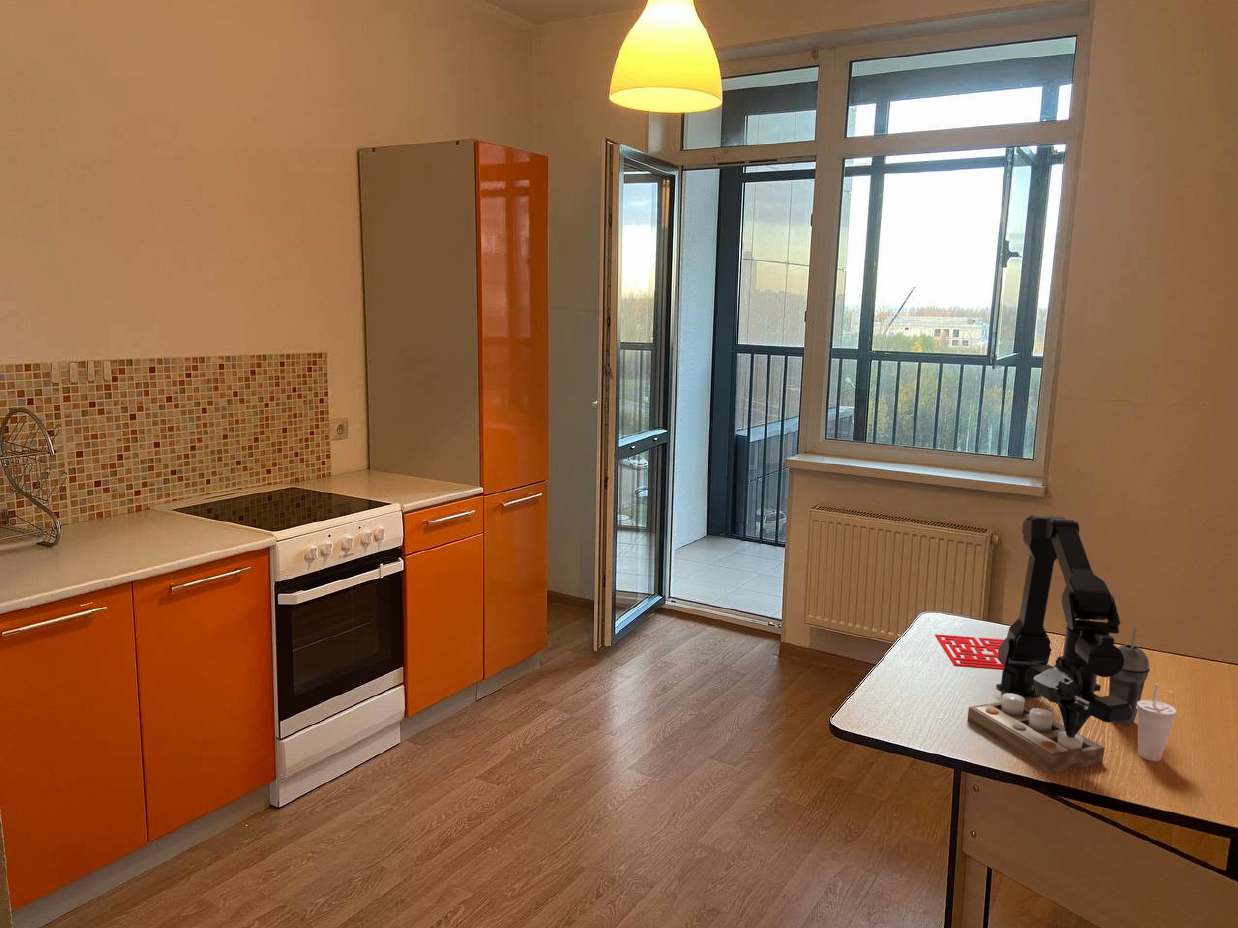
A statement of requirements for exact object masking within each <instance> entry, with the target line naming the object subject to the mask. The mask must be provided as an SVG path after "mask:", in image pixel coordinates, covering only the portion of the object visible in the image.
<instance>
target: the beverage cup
mask: <svg viewBox="0 0 1238 928" xmlns="http://www.w3.org/2000/svg"><path fill="white" fill-rule="evenodd" d="M1137 629H1138V626H1136V625H1134V627H1133V633H1132V639H1131V644H1124V645H1120V646H1118V647H1117V648H1118V649H1119V650H1120V651H1121V652H1122V654H1123V657H1124V665H1123V667H1122V669H1121V671H1119V672H1118V673H1117V674H1116V675H1114V676H1111V677H1109V684H1108V685H1109V686H1108V696H1110V695H1113V696H1115V697H1117V698H1119V699H1121V700H1123V701H1125V702H1128V703H1129V704H1130V706H1131V707H1132V714H1131V719H1128V720H1122V721H1116V722H1114V723H1115V724H1118V725H1123V726H1132V725H1134V724H1135V720H1136V717H1137V716H1138V710H1137V708H1136V706H1137V702H1138V701H1140V700H1142V699H1141V697H1142V694H1143V690H1144V687H1145V683H1146V680H1147V678H1148V676H1149V672H1151V671H1150V664H1149V663H1150V661H1149V657H1148V656H1147V654H1146V652H1144V650H1143V649H1141V648H1139V647H1138V646H1135V643H1136V636H1137Z"/></svg>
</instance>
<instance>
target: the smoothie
mask: <svg viewBox="0 0 1238 928" xmlns="http://www.w3.org/2000/svg"><path fill="white" fill-rule="evenodd" d="M1159 686H1160V684H1159V683H1155V684H1154V692H1153V698H1152V699H1140V701H1138V702H1137V706H1136V708H1137V710H1138V711H1137V754H1138V756H1139V757H1141V758H1142V759H1145V760H1148V761H1153V762H1160V761H1161V760H1162V758H1163V754H1164V751H1165V748H1166V744H1167V741H1168V738H1169V735H1170V732H1171V728H1172V725H1173V721H1174V719H1176V718H1177V711H1178V710H1177V709H1176V708H1175V707H1174V706H1173V705H1172V706H1171V704H1168V703H1165V702H1163V701H1159V700H1158V695H1159Z"/></svg>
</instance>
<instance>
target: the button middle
mask: <svg viewBox="0 0 1238 928" xmlns="http://www.w3.org/2000/svg"><path fill="white" fill-rule="evenodd" d="M1032 708H1033V709H1030V714H1029V722H1028V726H1029V727H1031V728H1032V729H1034V730H1036V731H1038V732H1048V731H1051V729H1052V721H1053V720H1054V714H1053V713H1052V712H1051V711H1049V710H1047V709H1044V708H1039V707H1035V708H1034V707H1032Z"/></svg>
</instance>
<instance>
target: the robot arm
mask: <svg viewBox="0 0 1238 928" xmlns="http://www.w3.org/2000/svg"><path fill="white" fill-rule="evenodd" d="M1021 529H1022V536H1023V537H1022V538H1023V540H1022V541H1023V543H1024V546H1025V547H1026V549H1027V551H1028V554H1029V557H1028V562H1027V569H1026V573H1025V580H1024V587H1023V593H1022V598H1021V599H1022V600H1021V605H1020V611H1019V617H1018V618H1017V619H1016V621H1014V622H1013V624H1012V625H1011V626H1009V628H1008V631H1007V635H1006V638H1004V639H1003V640H1004V641H1003V643H1002V644H1001V645H1000V647H999V648H998V649H997V652H998V659H999V660H1000V661H999V660H998V659H997V660H998V661H999V662H1000V664H1001V663H1002V664H1003V665H1004V670H1002V674H1001V680H1000V683H997V684H995V685H996V686H995V687H996V688H997V689H998V690H999V689H1000V690H1001V691H1003V692H1004V693H1005V694H1006V693H1011V694H1016V695H1019V696H1022V697H1023V698H1024V699H1026V698H1033V697H1038V696H1039V697H1043V698H1045V699H1046V700H1047V701H1048V702H1051V703H1055V704H1057V707H1058V708H1059V711H1060V715H1061V719H1062V723H1063V725H1064V727H1065V731H1066V735H1067V736H1068V737H1070V738H1071V737H1075V735H1076V734H1077V733H1079V731H1080V730H1081V728H1082V727H1083V726H1084V725H1085V723H1086V722H1087V721H1088V720H1089V718H1090V717H1094V718H1095V719H1097V720H1099V721H1102V722H1103V723H1108V724H1109V723H1115V722H1116V721H1122V720H1128V719H1131V714H1132V707H1131V706H1130V704H1129V703H1128V702H1125V701H1123V700H1121V699H1119V698H1117V697H1115V696H1113V695H1110V696H1109V695H1104V696H1101V695H1099V694H1097V693H1095V692H1101V684H1099V683H1097V677H1101V678H1110V677H1111V676H1114V675H1116V674H1117V673H1118V672H1119V671H1121V669H1122V667H1123V665H1124V657H1123V654H1122V652H1121V651H1120V650H1119V649H1118V647H1117V646H1116V645H1115V638H1114V637H1113V636H1111V635H1110V634H1118V635H1119V632H1120V629H1119V626H1120V625H1121V621H1120V616H1119V613H1118V608H1117V605H1116V602H1115V597H1114V596H1113V595H1112V593H1111V591H1110V589H1109V587H1108V586H1107V584H1106V582H1105V581H1104V580H1103V579H1101V578H1100V577H1099V576H1097V575H1096V574H1094V572H1093V569H1092V566H1091V563H1090V560H1089V559H1088V558H1089V557H1088V556H1087V553H1086V552H1087V551H1086V550H1085V547H1084V544H1083V541H1082V538H1081V536H1080V525H1079V523H1078V521H1076V520H1073V519H1066V518H1065V517H1064V516H1056V515H1055V516H1054V515H1038V514H1031V515H1030V516H1029V517H1026V519H1024V521H1023V522H1022V528H1021ZM1056 561H1058V564H1059V566H1060V571H1061V573H1062V577H1063V578H1064V579H1063V580H1064V583H1065V587H1064V590H1063V592H1062V594H1061V605H1062V610H1063V614H1064V617H1065V619H1064V620H1065V622H1066V624H1067V625H1066V629H1065V637H1064V646H1063V652H1062V656H1057V658H1056V659H1055V665H1054V666H1052V665H1050V664H1048V663H1049V659H1050V656H1051V653H1052V648H1051V640H1050V638H1049V636H1048V634H1047V632H1046V629H1045V627H1044V625H1045V617H1046V612H1047V606H1048V600H1049V595H1050V589H1051V588H1050V587H1051V582H1052V578H1053V577H1052V576H1053V571H1054V566H1055V562H1056ZM1092 620H1093V621H1092Z"/></svg>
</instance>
